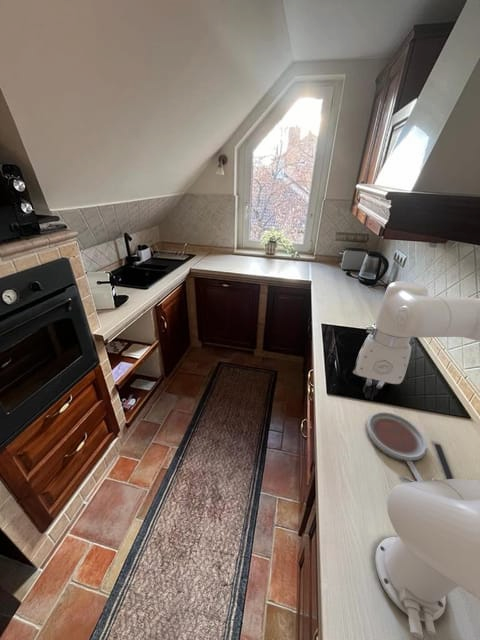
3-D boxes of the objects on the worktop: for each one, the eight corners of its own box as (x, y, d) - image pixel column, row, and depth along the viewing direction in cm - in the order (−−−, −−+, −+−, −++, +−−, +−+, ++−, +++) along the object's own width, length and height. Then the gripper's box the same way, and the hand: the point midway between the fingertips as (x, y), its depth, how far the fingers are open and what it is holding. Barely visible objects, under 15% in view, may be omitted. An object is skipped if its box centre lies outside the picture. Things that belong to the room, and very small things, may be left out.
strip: (454, 482, 70) (454, 482, 70) (447, 480, 71) (448, 480, 71) (439, 445, 80) (440, 445, 80) (434, 443, 81) (434, 443, 80)
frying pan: (402, 500, 64) (359, 409, 88) (398, 505, 65) (357, 415, 89) (469, 502, 64) (408, 411, 88) (464, 508, 65) (405, 416, 89)
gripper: (356, 336, 57) (338, 397, 66) (433, 352, 53) (403, 414, 61) (355, 322, 63) (338, 378, 72) (423, 334, 59) (397, 393, 67)
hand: (368, 395), depth 66 cm, fingers closed
